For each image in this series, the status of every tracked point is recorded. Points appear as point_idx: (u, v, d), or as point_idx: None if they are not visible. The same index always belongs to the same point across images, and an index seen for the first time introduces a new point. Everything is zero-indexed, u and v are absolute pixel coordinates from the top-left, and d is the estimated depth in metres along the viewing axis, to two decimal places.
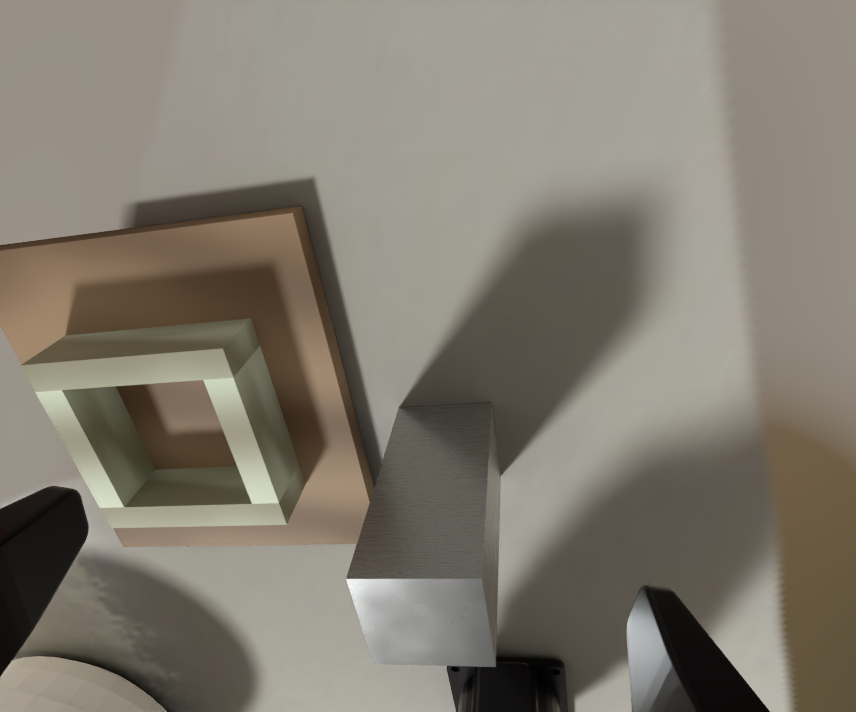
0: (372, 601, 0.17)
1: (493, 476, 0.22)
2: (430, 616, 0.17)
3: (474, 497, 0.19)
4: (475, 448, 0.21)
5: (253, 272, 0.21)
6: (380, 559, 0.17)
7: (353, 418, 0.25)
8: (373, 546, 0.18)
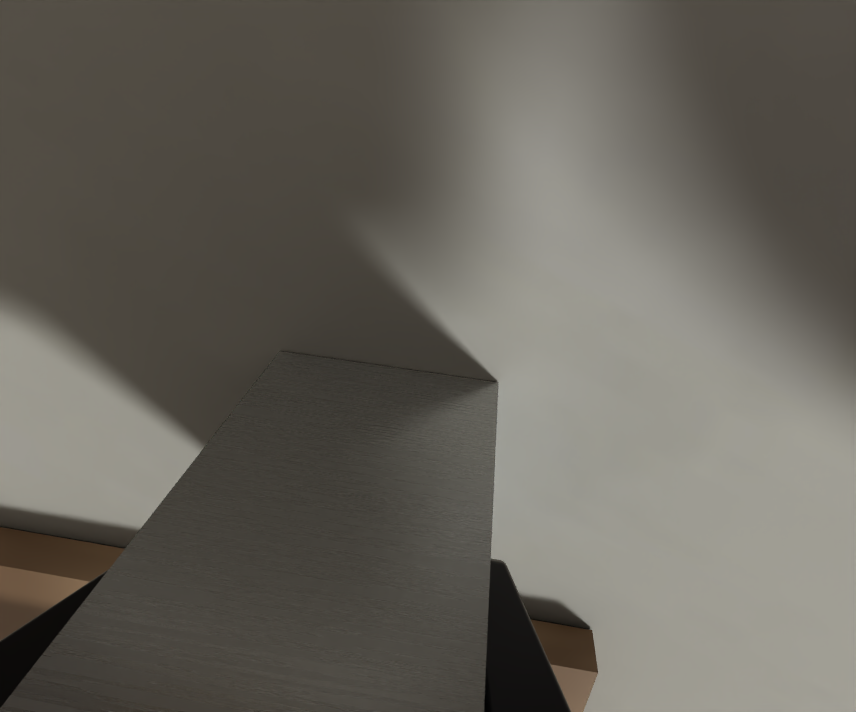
0: None
1: (316, 462, 0.08)
2: None
3: None
4: None
5: None
6: None
7: None
8: None
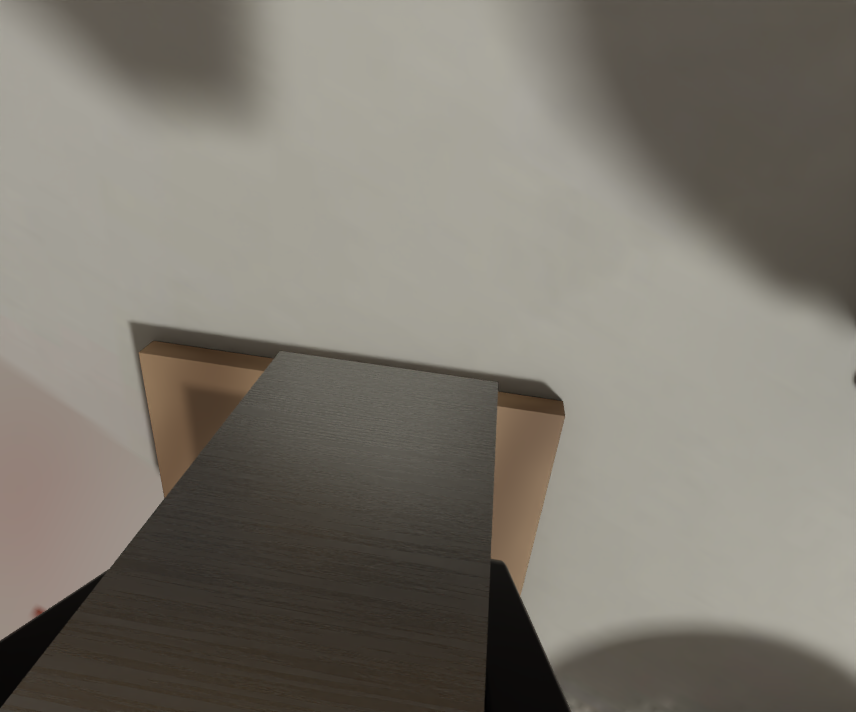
0: None
1: (317, 462, 0.08)
2: None
3: None
4: None
5: (194, 407, 0.22)
6: None
7: None
8: None
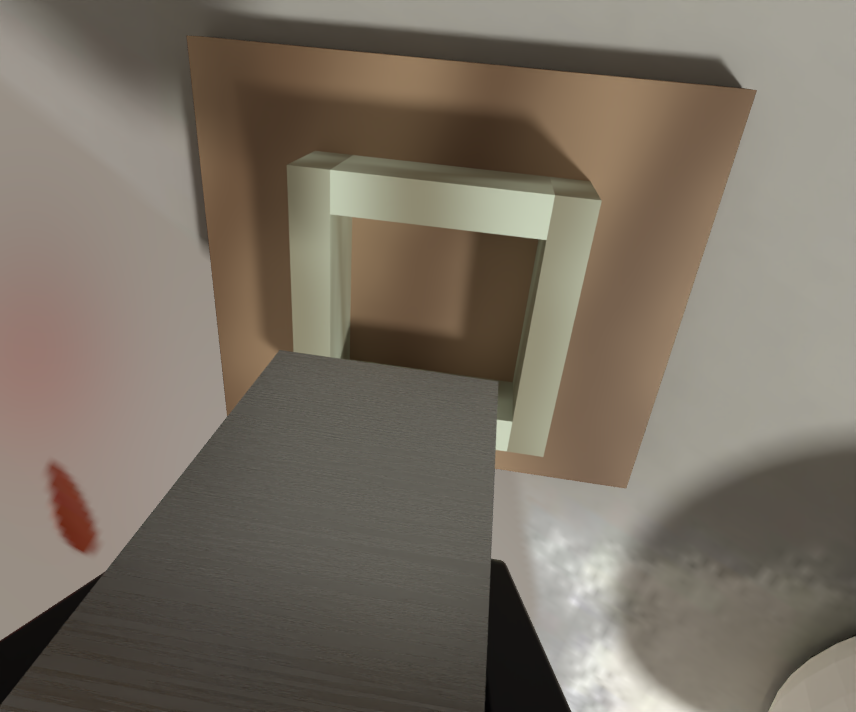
0: None
1: (316, 461, 0.08)
2: None
3: None
4: None
5: (256, 121, 0.17)
6: None
7: (504, 65, 0.16)
8: None
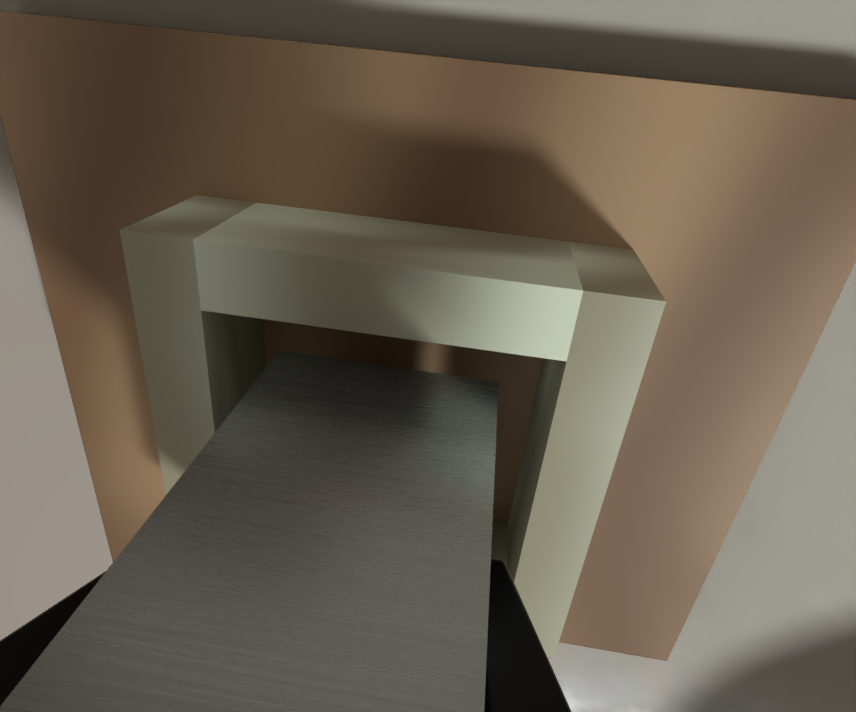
0: None
1: (316, 462, 0.08)
2: None
3: None
4: None
5: (101, 148, 0.11)
6: None
7: (495, 62, 0.10)
8: None
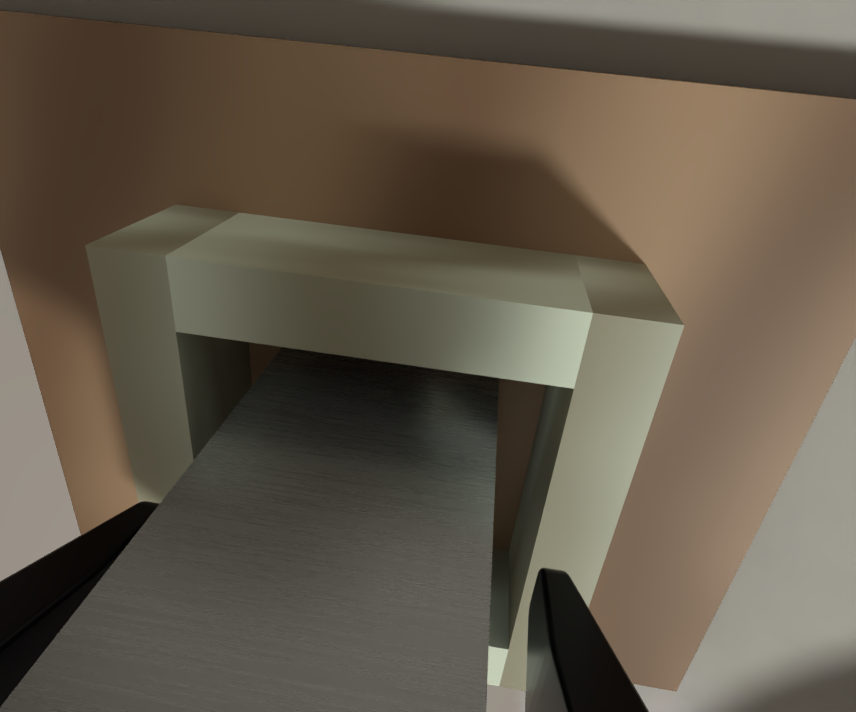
0: None
1: (336, 421, 0.09)
2: None
3: None
4: None
5: (73, 154, 0.10)
6: None
7: None
8: None
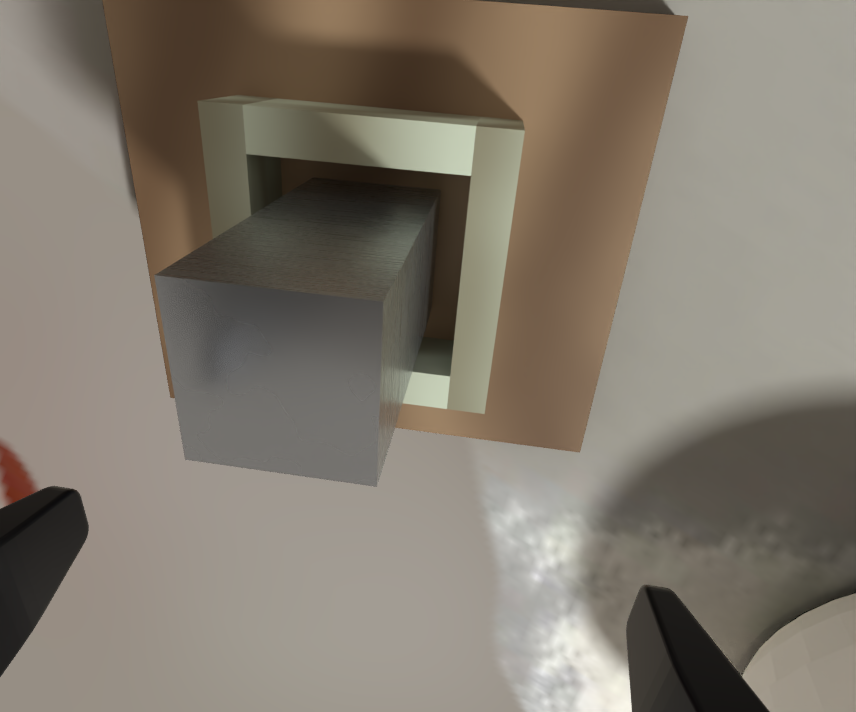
0: (227, 442, 0.11)
1: (338, 203, 0.15)
2: (255, 373, 0.10)
3: None
4: None
5: (175, 64, 0.17)
6: None
7: None
8: None
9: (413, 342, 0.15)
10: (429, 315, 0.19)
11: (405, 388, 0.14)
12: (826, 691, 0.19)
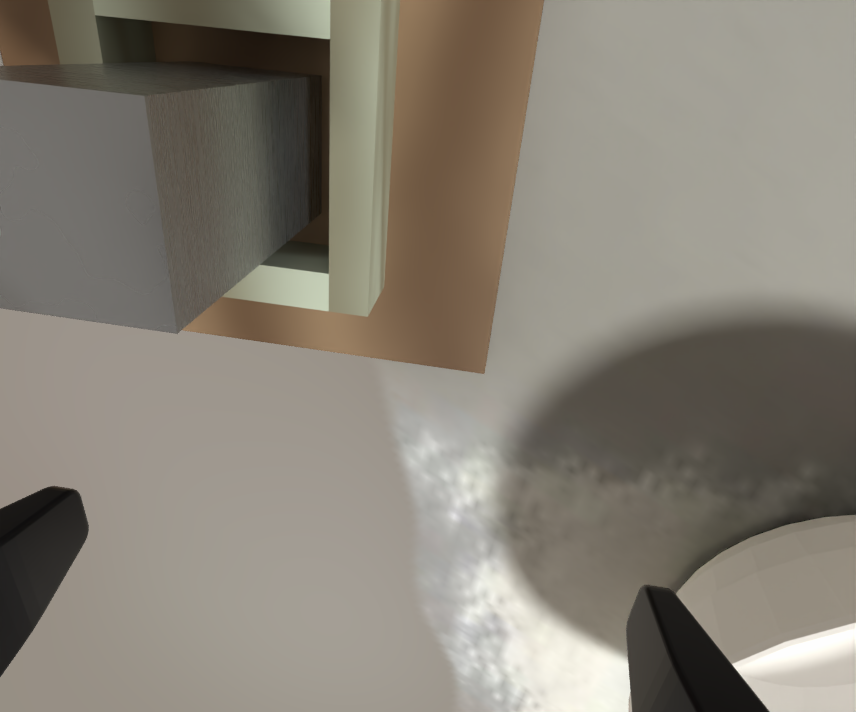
0: (14, 281, 0.10)
1: (192, 69, 0.14)
2: (27, 193, 0.10)
3: None
4: None
5: None
6: None
7: None
8: None
9: (267, 218, 0.14)
10: (316, 216, 0.18)
11: (253, 262, 0.13)
12: (725, 618, 0.18)
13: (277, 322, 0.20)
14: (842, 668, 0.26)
